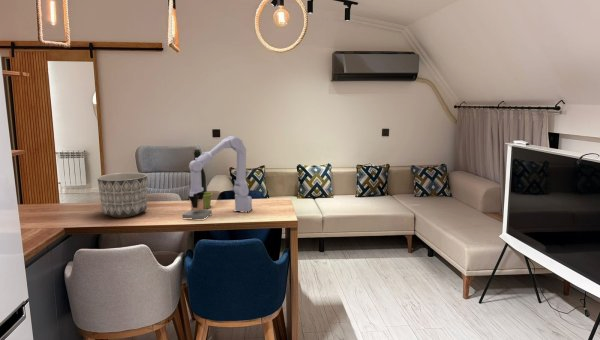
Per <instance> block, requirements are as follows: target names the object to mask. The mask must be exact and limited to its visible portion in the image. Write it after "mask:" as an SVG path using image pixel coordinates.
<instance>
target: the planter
mask: <svg viewBox="0 0 600 340" xmlns="http://www.w3.org/2000/svg"><path fill="white" fill-rule="evenodd" d="M97 185H98V191H99V198H100V199H99V200H100V206H101V210H102V213H103V214H104V215H106V216H111V217H112V218H130V217H135V216H137V215H139V214H140V213H142V212H143V213H144V211H146V210H147V208H148V174H146V173H143V172H116V173H107V174H104V175H100V176H98V177H97Z"/></svg>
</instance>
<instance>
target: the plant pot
mask: <svg viewBox="0 0 600 340" xmlns="http://www.w3.org/2000/svg"><path fill="white" fill-rule="evenodd" d="M204 193H205V194H204V196H203V206H204V208H203V209H202V210H206V209H210V208H211V203H212V195H213V192H210V191H207V192H204Z"/></svg>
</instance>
